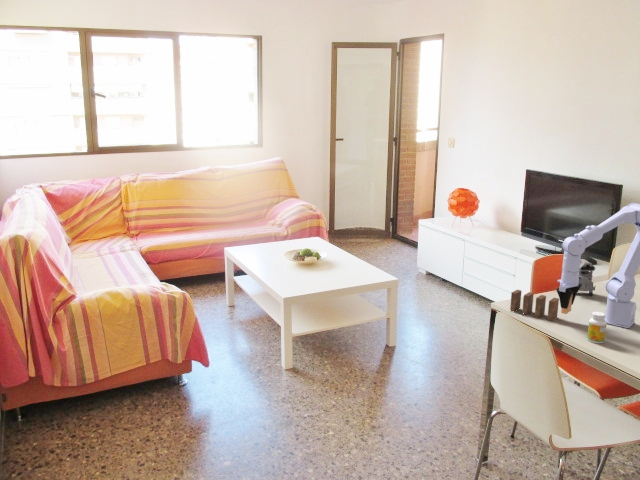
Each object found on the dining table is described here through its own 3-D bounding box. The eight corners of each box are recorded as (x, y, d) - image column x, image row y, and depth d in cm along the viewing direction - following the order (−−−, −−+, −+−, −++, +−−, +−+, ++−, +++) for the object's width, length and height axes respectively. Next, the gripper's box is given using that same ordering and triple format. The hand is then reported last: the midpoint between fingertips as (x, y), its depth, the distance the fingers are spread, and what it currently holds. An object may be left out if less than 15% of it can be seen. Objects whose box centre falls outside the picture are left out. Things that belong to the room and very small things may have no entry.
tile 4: (531, 311, 231) (533, 293, 230) (526, 315, 228) (528, 296, 226) (527, 310, 233) (529, 292, 231) (522, 314, 229) (523, 295, 227)
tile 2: (557, 317, 225) (559, 298, 224) (552, 321, 222) (554, 301, 220) (552, 316, 226) (554, 297, 225) (547, 320, 223) (549, 300, 221)
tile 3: (544, 314, 228) (546, 295, 227) (539, 318, 225) (541, 299, 223) (539, 313, 229) (541, 294, 228) (534, 317, 226) (536, 298, 224)
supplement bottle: (583, 338, 205) (586, 311, 203) (595, 336, 207) (598, 310, 205) (595, 344, 201) (598, 317, 198) (608, 342, 202) (611, 315, 200)
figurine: (570, 298, 248) (573, 263, 244) (569, 290, 258) (572, 256, 255) (594, 300, 244) (598, 265, 241) (592, 292, 255) (596, 258, 252)
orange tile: (570, 310, 221) (573, 291, 220) (566, 314, 218) (568, 294, 216) (566, 309, 222) (568, 290, 221) (561, 313, 219) (563, 293, 217)
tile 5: (519, 308, 234) (521, 290, 233) (514, 312, 231) (516, 293, 229) (515, 307, 236) (517, 289, 234) (510, 311, 232) (511, 292, 230)
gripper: (566, 264, 224) (562, 298, 227) (552, 272, 214) (548, 308, 217) (586, 267, 220) (582, 303, 223) (572, 276, 209) (568, 313, 212)
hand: (566, 306), depth 220 cm, fingers closed on orange tile, 5 cm apart
